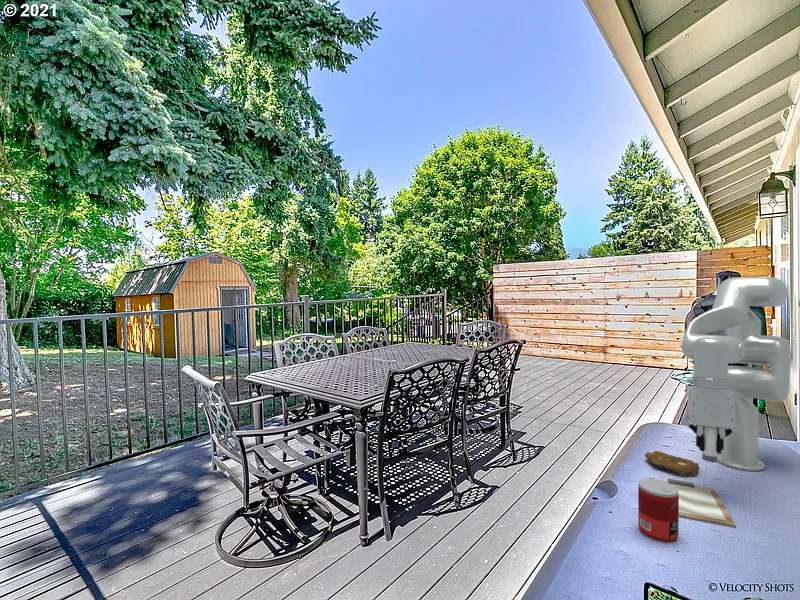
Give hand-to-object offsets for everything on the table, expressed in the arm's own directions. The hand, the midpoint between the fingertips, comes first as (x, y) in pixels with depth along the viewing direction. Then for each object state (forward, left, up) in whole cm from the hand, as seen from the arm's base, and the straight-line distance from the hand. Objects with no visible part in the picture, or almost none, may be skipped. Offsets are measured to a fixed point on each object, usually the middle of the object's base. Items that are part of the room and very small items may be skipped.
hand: (709, 450), depth 112 cm
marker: (0, 0, -3) cm, 3 cm away
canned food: (+25, -15, -13) cm, 32 cm away
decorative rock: (-18, -7, -14) cm, 24 cm away
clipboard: (+5, -6, -13) cm, 15 cm away
